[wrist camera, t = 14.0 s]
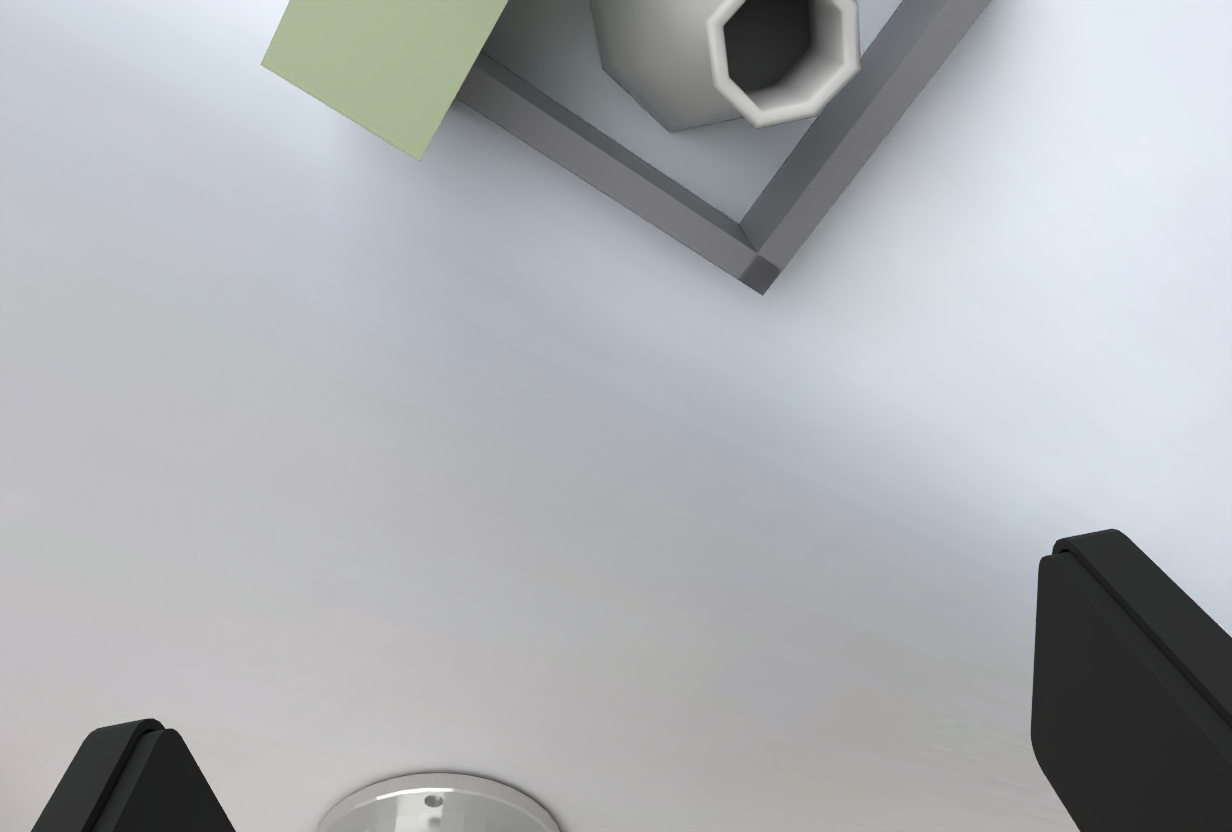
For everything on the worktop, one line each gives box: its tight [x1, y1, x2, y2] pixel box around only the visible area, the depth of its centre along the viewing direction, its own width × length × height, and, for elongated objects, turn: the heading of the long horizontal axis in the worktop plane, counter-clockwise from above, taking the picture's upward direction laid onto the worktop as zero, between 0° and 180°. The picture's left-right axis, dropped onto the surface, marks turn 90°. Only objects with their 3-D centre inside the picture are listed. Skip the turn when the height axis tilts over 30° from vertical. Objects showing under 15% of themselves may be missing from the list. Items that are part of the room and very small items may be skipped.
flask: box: [591, 0, 861, 132], centre depth 22 cm, size 7×7×10 cm
